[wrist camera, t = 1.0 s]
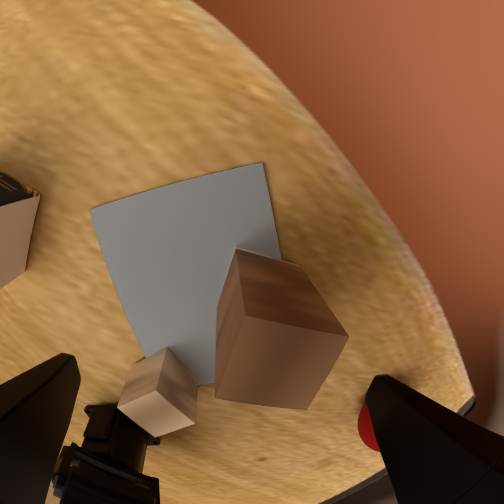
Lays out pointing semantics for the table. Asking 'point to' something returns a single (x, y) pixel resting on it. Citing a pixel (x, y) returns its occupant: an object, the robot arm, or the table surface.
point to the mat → (183, 256)
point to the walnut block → (272, 334)
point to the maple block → (160, 394)
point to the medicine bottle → (15, 226)
